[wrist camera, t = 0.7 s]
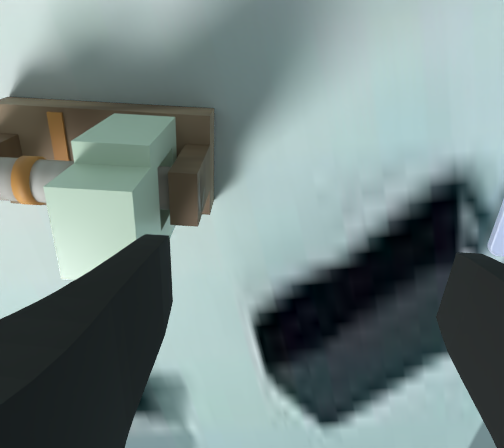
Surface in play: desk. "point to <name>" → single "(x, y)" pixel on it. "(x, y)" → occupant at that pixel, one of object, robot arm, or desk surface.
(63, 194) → the mint green stepped block
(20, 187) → the rod stand
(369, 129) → the desk surface
